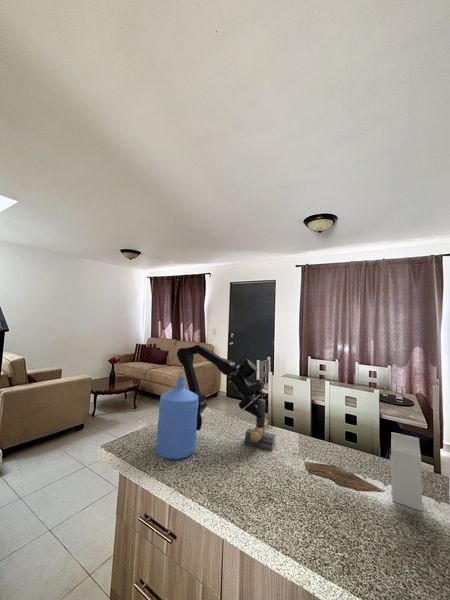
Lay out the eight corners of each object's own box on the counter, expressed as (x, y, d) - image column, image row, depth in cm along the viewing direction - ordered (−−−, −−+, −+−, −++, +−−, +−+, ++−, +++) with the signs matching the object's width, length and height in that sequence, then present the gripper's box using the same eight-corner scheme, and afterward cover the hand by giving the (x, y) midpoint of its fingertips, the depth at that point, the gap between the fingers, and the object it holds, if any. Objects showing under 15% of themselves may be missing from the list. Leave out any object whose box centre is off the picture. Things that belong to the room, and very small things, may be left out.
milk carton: (422, 512, 71) (420, 442, 73) (392, 501, 75) (391, 435, 77) (419, 498, 77) (417, 434, 79) (391, 489, 81) (390, 428, 83)
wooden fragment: (298, 469, 90) (298, 466, 90) (308, 458, 99) (308, 455, 99) (382, 503, 75) (382, 500, 75) (385, 486, 83) (385, 483, 83)
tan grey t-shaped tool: (258, 442, 99) (259, 406, 101) (249, 440, 101) (251, 404, 102) (269, 427, 116) (270, 396, 117) (261, 425, 117) (262, 394, 119)
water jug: (184, 464, 89) (189, 384, 92) (147, 455, 94) (153, 379, 97) (201, 445, 104) (206, 376, 107) (168, 438, 109) (173, 372, 112)
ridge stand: (244, 443, 108) (244, 432, 108) (248, 438, 113) (249, 427, 114) (271, 450, 103) (272, 439, 103) (275, 444, 108) (275, 433, 109)
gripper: (247, 377, 104) (272, 409, 98) (259, 371, 121) (281, 398, 115) (229, 393, 107) (252, 426, 101) (243, 385, 123) (264, 412, 118)
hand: (264, 414), depth 109 cm, fingers open, 9 cm apart
